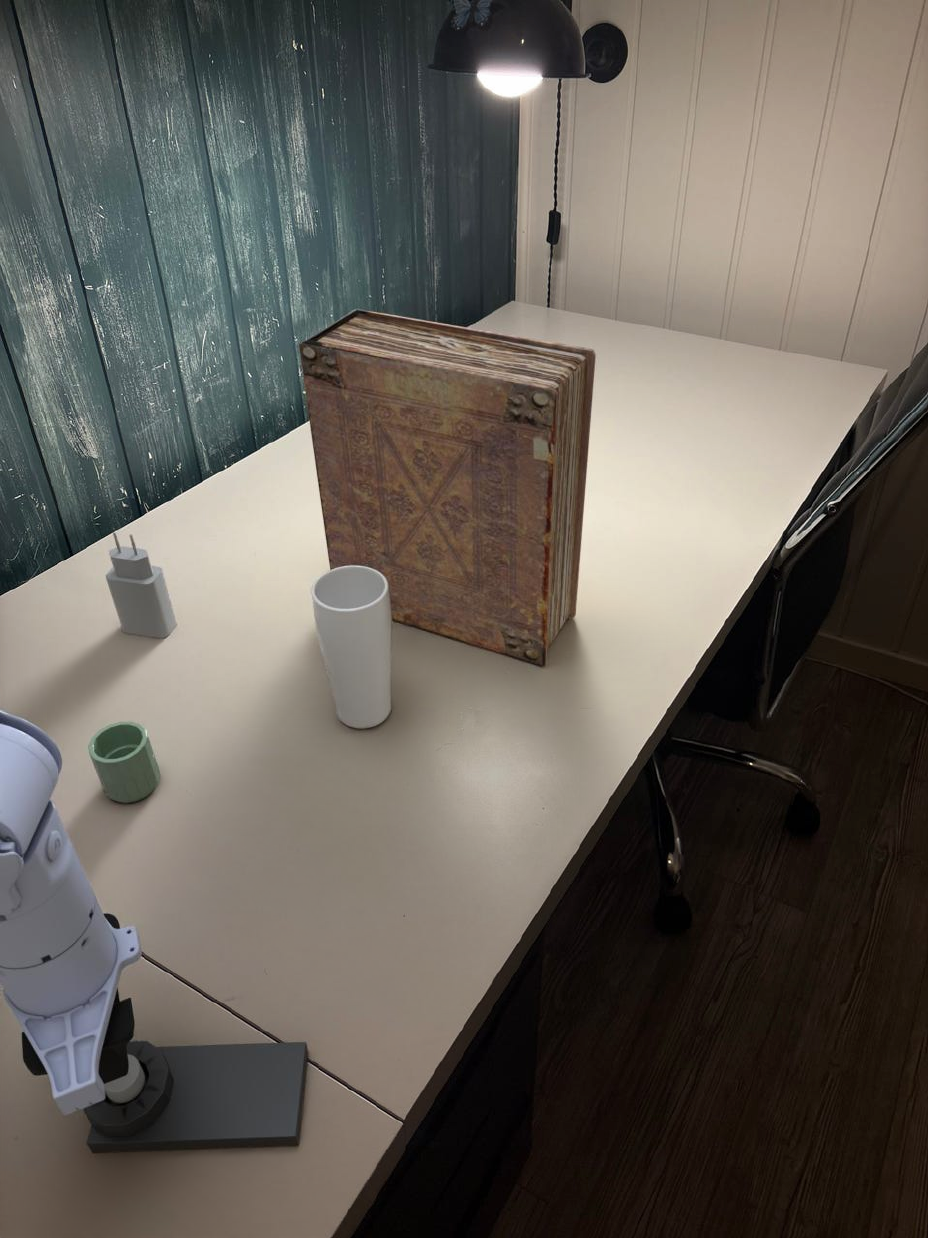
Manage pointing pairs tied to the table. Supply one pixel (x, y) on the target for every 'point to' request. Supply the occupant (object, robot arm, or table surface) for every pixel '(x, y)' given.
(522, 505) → the book
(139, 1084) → the button
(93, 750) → the green faceted cup
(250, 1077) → the scale
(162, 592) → the power adapter
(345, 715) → the drinking glass
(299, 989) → the table surface
